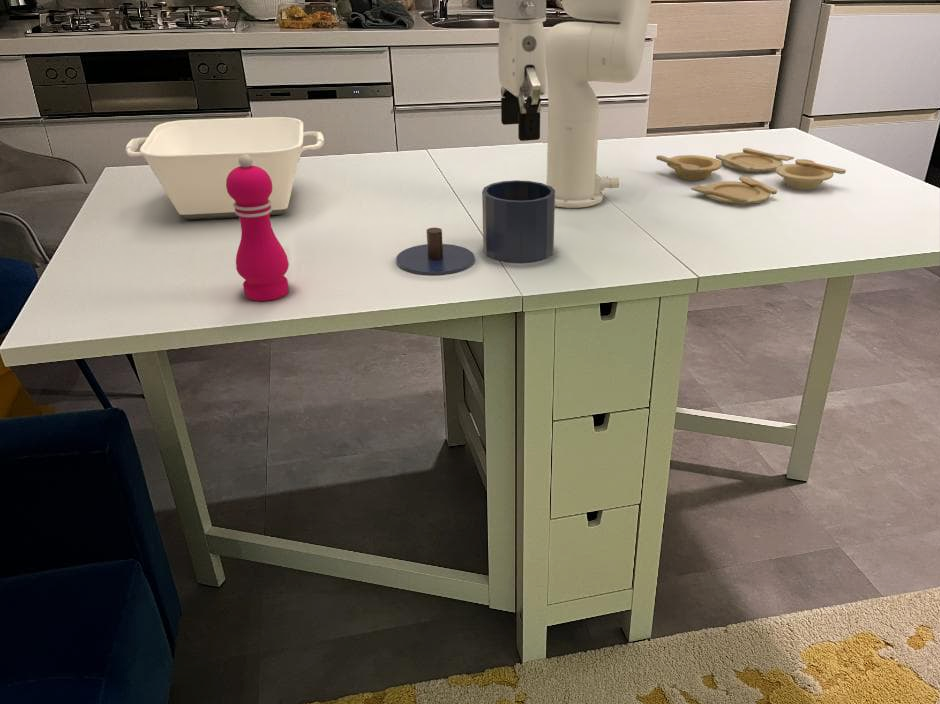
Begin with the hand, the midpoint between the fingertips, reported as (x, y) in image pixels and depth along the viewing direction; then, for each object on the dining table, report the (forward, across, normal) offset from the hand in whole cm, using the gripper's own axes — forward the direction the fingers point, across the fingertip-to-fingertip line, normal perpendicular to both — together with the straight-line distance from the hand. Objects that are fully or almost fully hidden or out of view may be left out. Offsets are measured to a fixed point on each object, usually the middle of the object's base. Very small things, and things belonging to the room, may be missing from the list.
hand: (520, 131), depth 128 cm
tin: (+20, -1, 0) cm, 20 cm away
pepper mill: (+19, -7, +40) cm, 45 cm away
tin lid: (+19, -2, +14) cm, 24 cm away
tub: (+20, +37, +44) cm, 61 cm away
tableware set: (+21, +28, -57) cm, 67 cm away
